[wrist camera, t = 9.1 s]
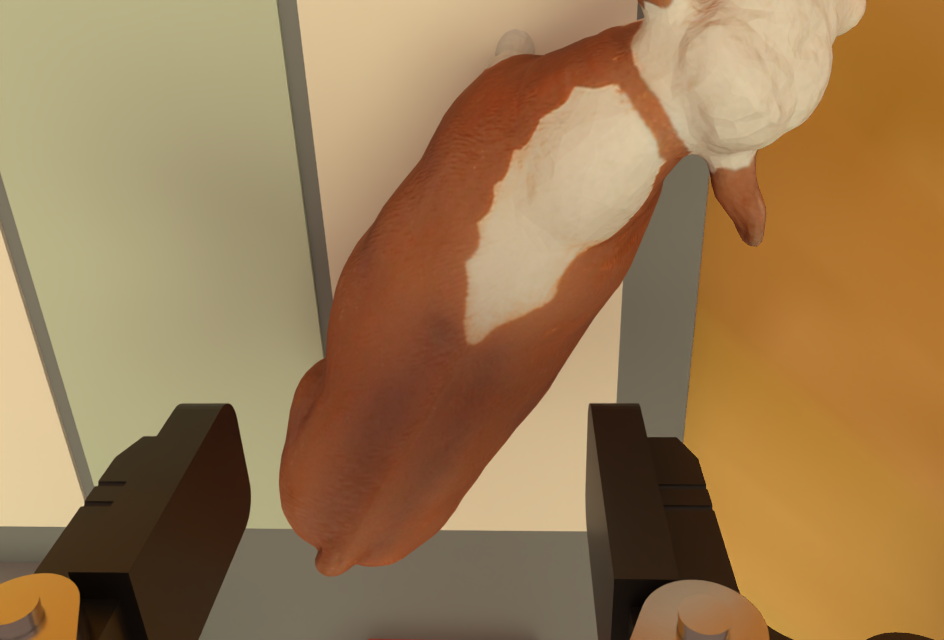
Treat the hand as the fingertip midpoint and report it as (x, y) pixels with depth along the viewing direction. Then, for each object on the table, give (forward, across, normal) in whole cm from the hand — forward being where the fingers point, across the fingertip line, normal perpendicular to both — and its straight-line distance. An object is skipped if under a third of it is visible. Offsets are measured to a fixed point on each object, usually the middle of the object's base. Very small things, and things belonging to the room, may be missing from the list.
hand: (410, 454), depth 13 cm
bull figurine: (+8, -1, -2) cm, 8 cm away
